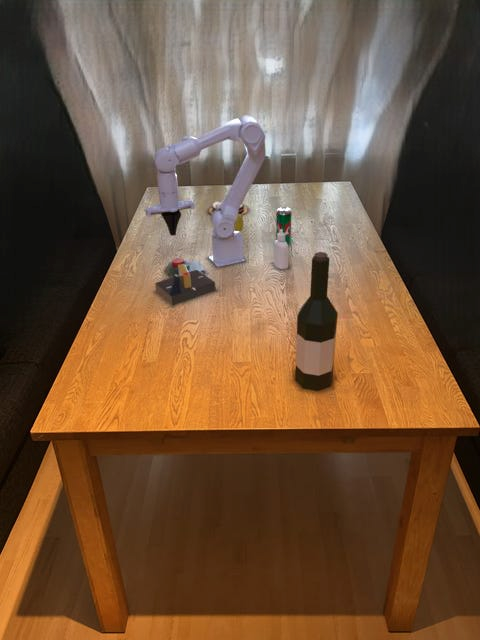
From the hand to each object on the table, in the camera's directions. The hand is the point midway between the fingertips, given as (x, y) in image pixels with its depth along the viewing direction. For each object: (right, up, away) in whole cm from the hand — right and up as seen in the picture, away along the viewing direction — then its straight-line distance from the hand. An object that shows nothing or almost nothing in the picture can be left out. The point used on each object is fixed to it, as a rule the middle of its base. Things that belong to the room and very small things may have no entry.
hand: (172, 234), depth 162 cm
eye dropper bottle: (+33, -10, +3) cm, 35 cm away
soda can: (+35, 0, +18) cm, 39 cm away
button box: (+4, -11, +1) cm, 12 cm away
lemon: (+19, +4, +26) cm, 32 cm away
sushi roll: (+16, +17, +46) cm, 51 cm away
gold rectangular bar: (+5, -15, -11) cm, 20 cm away
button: (+2, -10, -1) cm, 10 cm away
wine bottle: (+37, -39, -45) cm, 70 cm away
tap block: (+5, -18, -10) cm, 21 cm away
